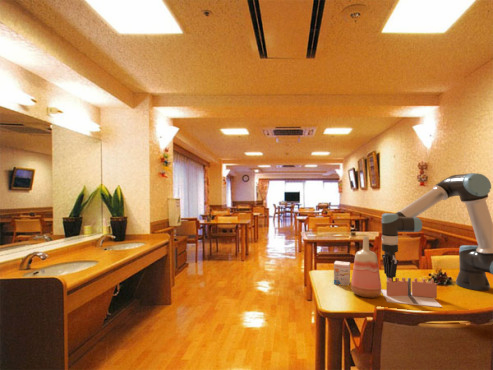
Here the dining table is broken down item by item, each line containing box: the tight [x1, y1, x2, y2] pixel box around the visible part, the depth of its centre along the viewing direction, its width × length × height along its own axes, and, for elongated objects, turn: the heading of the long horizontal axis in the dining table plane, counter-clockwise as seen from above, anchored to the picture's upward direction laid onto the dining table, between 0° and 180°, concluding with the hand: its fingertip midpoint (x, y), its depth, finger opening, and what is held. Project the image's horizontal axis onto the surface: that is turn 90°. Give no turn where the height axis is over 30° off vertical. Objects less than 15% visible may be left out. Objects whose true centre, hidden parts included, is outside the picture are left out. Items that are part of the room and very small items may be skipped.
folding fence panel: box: [386, 277, 408, 296], centre depth 146 cm, size 11×1×9 cm, turn 97°
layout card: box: [381, 289, 443, 308], centre depth 143 cm, size 23×18×1 cm
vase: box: [350, 235, 382, 299], centre depth 148 cm, size 14×14×30 cm
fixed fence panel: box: [407, 277, 438, 299], centre depth 145 cm, size 13×1×9 cm, turn 74°
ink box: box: [333, 260, 351, 286], centre depth 167 cm, size 9×8×12 cm
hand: (389, 289), depth 148 cm, fingers closed
